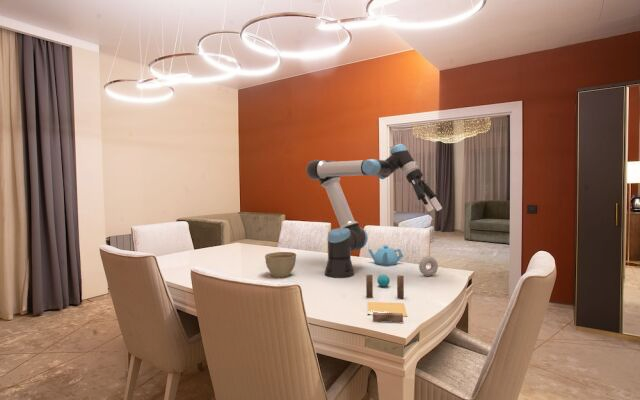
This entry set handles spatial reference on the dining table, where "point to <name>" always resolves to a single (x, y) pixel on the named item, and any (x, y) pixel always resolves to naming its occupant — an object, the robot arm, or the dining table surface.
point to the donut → (424, 262)
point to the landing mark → (387, 307)
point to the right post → (400, 287)
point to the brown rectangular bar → (388, 317)
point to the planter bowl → (280, 263)
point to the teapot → (386, 256)
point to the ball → (383, 280)
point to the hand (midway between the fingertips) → (435, 210)
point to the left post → (369, 286)
